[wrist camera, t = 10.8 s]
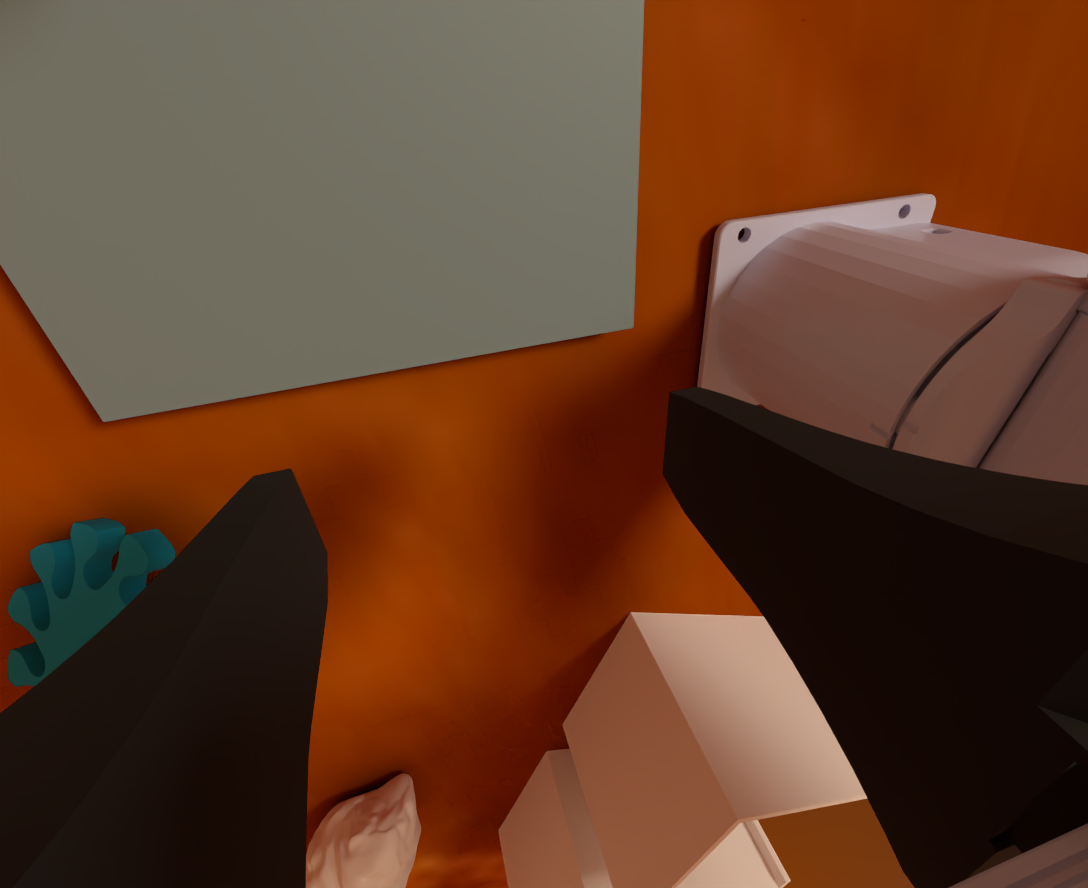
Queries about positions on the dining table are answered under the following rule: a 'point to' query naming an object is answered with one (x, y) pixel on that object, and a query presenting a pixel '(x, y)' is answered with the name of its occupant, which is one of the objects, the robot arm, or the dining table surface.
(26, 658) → the gear
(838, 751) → the storage container
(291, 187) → the base plate
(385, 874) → the bust
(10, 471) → the dining table surface
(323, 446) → the dining table surface
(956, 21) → the dining table surface
